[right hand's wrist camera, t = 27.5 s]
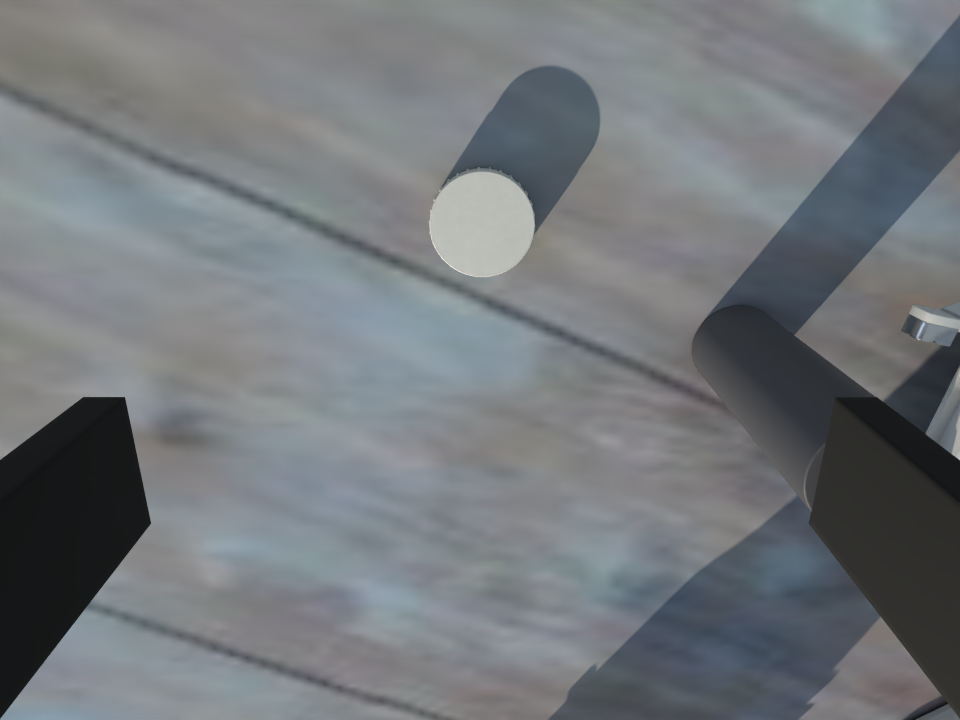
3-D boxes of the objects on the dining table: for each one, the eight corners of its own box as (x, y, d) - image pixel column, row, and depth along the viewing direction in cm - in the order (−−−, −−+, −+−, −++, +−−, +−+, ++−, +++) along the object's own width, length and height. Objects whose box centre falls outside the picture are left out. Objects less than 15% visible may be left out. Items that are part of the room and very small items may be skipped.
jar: (788, 363, 42) (975, 525, 26) (708, 397, 43) (843, 575, 27) (761, 290, 41) (945, 416, 25) (679, 327, 42) (805, 473, 26)
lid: (409, 221, 39) (405, 226, 38) (481, 143, 38) (481, 145, 36) (482, 291, 41) (482, 299, 39) (555, 219, 39) (558, 224, 38)
